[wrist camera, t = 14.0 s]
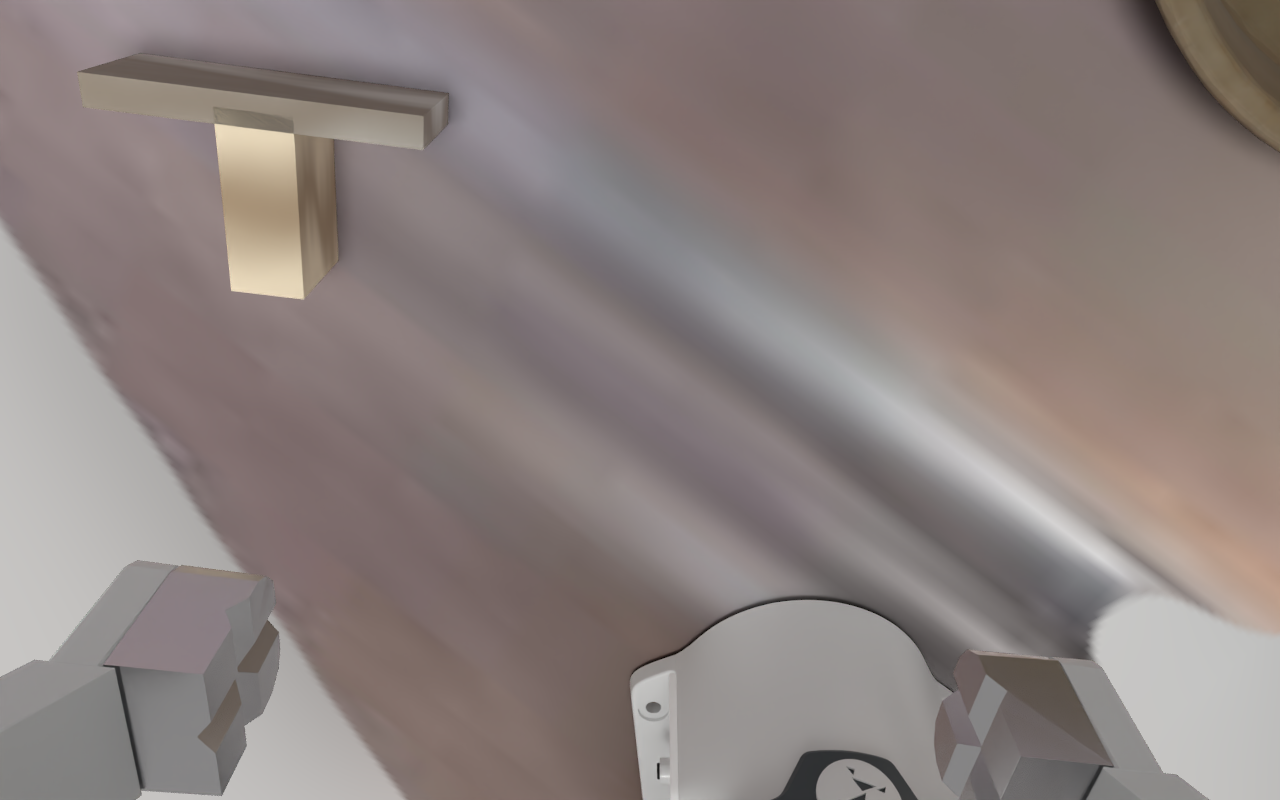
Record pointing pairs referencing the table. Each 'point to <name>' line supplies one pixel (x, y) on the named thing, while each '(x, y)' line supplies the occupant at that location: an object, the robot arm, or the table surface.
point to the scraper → (271, 150)
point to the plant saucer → (1233, 56)
